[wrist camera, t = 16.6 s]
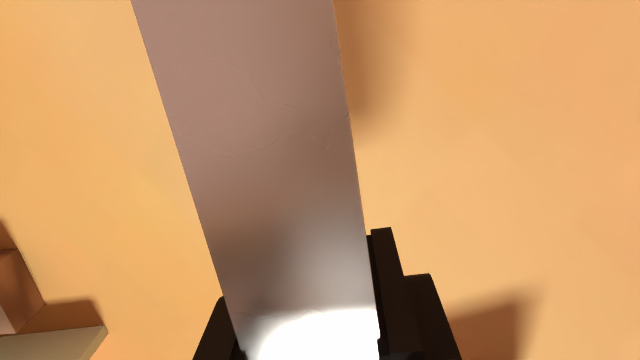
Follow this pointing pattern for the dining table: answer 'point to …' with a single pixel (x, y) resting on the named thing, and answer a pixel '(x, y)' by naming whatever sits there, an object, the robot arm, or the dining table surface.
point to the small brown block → (16, 293)
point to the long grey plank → (270, 168)
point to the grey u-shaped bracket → (53, 344)
